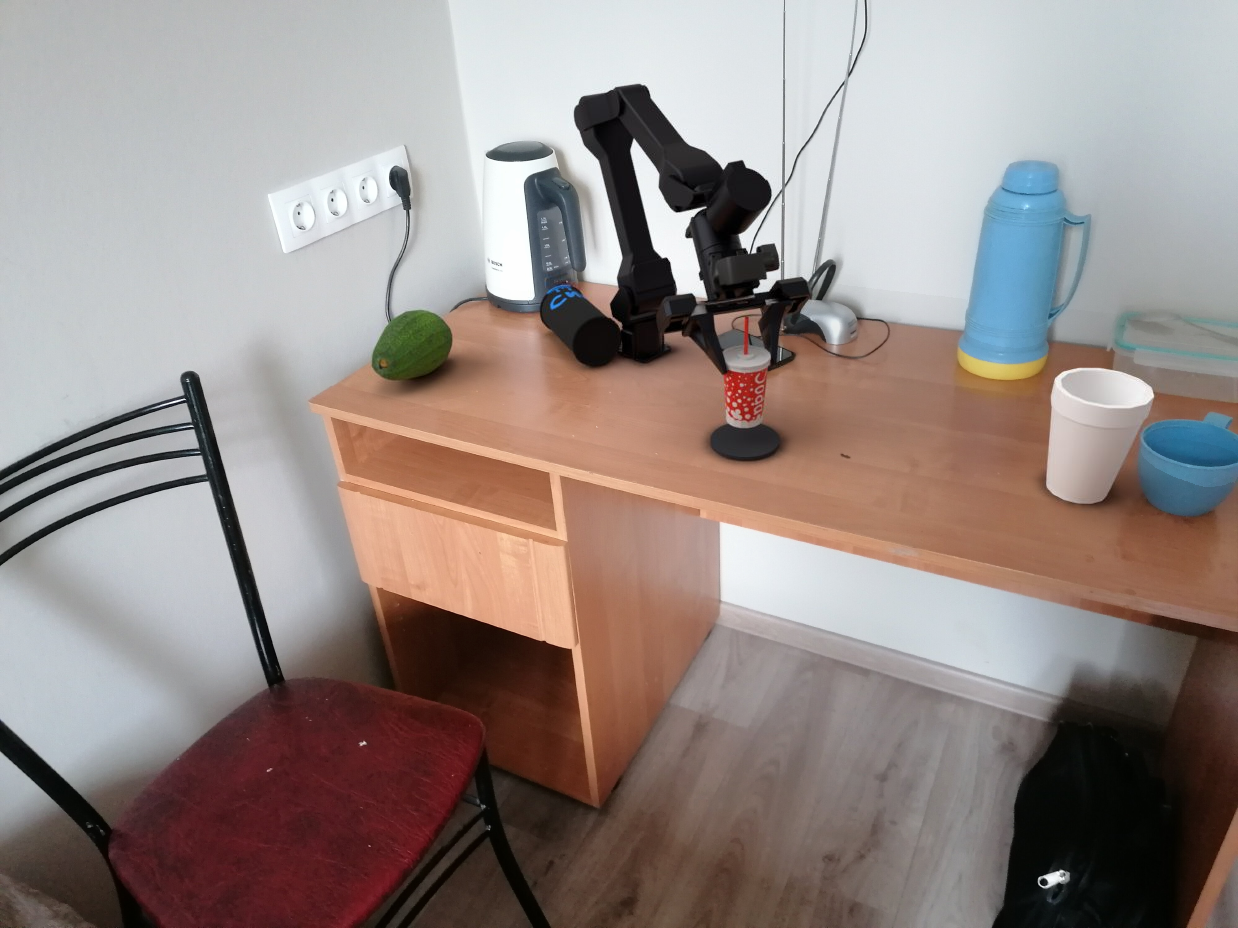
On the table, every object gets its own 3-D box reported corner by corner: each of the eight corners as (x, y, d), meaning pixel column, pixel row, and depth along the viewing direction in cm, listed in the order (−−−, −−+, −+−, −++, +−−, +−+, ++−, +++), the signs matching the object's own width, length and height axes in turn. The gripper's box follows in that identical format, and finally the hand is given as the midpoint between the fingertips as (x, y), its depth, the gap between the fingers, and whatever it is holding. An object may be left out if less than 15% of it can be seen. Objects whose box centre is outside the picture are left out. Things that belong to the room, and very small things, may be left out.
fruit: (408, 402, 126) (394, 340, 121) (359, 390, 131) (343, 330, 125) (471, 361, 137) (461, 302, 132) (423, 351, 141) (412, 294, 136)
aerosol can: (572, 370, 131) (532, 326, 147) (621, 363, 134) (576, 320, 150) (572, 319, 127) (530, 279, 143) (622, 313, 130) (576, 274, 145)
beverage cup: (737, 436, 106) (739, 332, 98) (710, 415, 110) (711, 315, 103) (777, 422, 108) (783, 320, 100) (749, 403, 112) (753, 303, 105)
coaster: (740, 418, 116) (740, 414, 116) (794, 440, 110) (794, 436, 110) (695, 444, 111) (695, 440, 111) (750, 469, 105) (750, 464, 105)
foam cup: (1016, 470, 101) (1038, 371, 94) (1092, 462, 102) (1119, 364, 95) (1058, 516, 93) (1085, 412, 86) (1140, 507, 94) (1173, 403, 87)
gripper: (659, 232, 97) (690, 359, 94) (811, 211, 101) (845, 333, 97) (644, 274, 108) (671, 390, 105) (781, 255, 111) (811, 366, 108)
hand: (749, 370), depth 104 cm, fingers closed on beverage cup, 6 cm apart
